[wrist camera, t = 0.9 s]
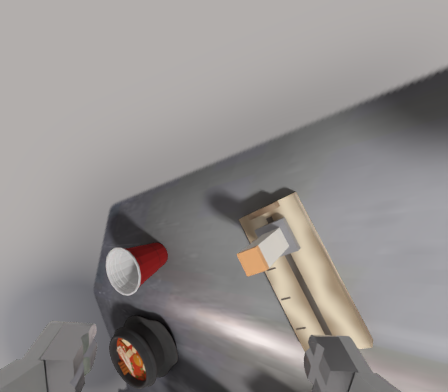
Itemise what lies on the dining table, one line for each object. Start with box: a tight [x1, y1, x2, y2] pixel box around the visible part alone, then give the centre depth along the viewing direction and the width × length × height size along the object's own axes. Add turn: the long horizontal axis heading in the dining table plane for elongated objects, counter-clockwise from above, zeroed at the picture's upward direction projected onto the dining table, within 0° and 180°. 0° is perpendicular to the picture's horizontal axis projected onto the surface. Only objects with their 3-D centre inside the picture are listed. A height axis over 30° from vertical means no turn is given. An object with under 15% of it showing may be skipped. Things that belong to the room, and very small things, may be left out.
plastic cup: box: [106, 243, 168, 295], centre depth 65 cm, size 11×11×12 cm
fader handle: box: [237, 217, 300, 277], centre depth 44 cm, size 6×6×11 cm
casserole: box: [109, 316, 178, 389], centre depth 75 cm, size 25×19×8 cm
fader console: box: [239, 192, 373, 351], centre depth 49 cm, size 12×28×4 cm, turn 31°
